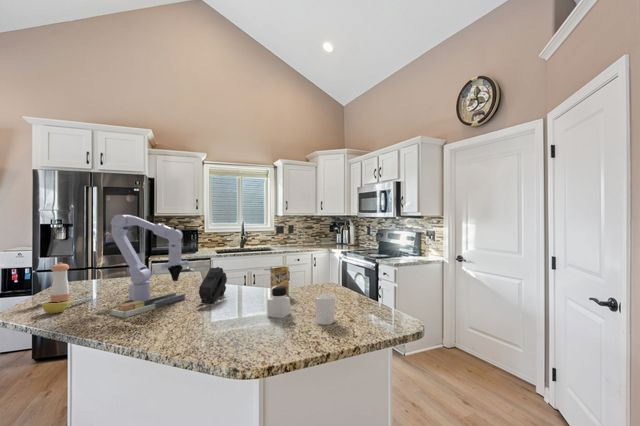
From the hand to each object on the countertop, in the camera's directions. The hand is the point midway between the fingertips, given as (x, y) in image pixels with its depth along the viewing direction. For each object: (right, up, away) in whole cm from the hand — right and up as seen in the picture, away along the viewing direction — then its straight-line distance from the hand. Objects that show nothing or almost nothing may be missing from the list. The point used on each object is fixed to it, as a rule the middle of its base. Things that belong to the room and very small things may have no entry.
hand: (175, 280), depth 153 cm
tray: (-7, -9, -22) cm, 25 cm away
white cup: (+75, -9, -34) cm, 83 cm away
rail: (-1, -9, -9) cm, 13 cm away
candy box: (+52, -9, +6) cm, 53 cm away
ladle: (-43, -10, -11) cm, 45 cm away
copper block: (-9, -9, -24) cm, 27 cm away
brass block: (-7, -9, -21) cm, 24 cm away
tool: (+20, -10, -2) cm, 22 cm away
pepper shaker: (-57, -10, -1) cm, 58 cm away
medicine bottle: (+56, -9, -25) cm, 62 cm away
